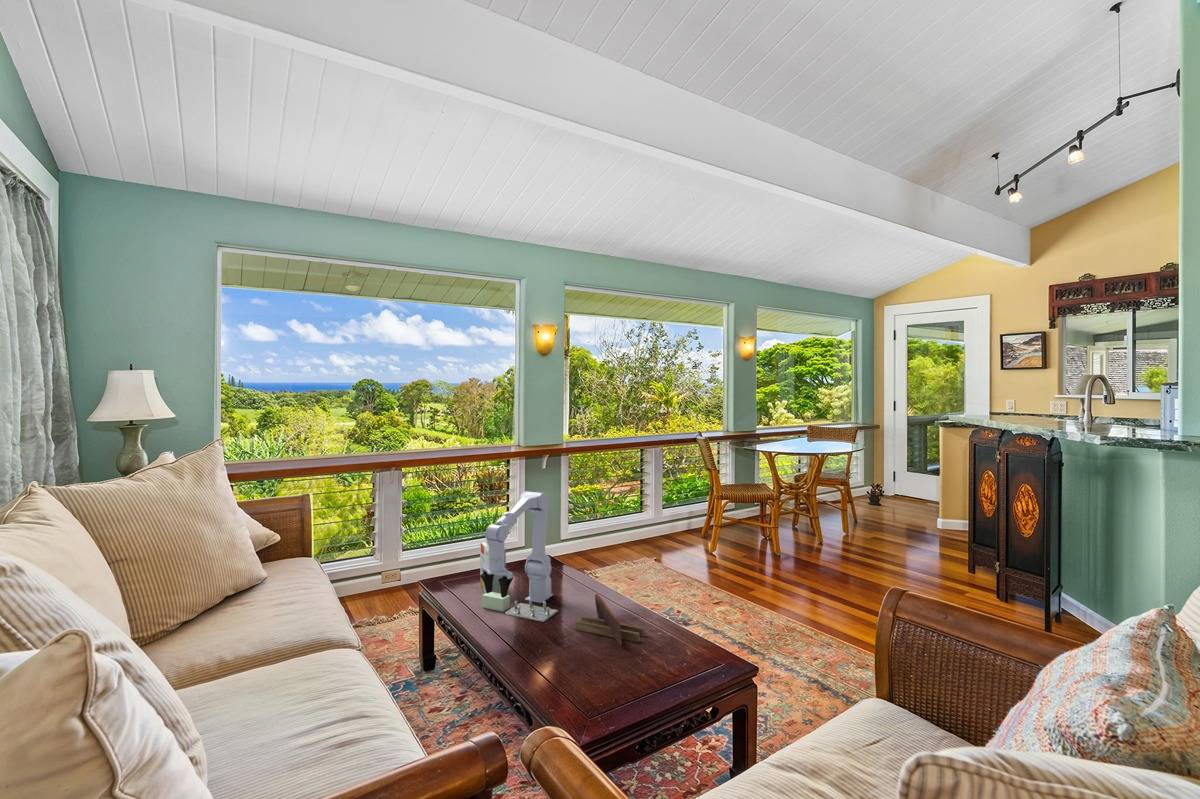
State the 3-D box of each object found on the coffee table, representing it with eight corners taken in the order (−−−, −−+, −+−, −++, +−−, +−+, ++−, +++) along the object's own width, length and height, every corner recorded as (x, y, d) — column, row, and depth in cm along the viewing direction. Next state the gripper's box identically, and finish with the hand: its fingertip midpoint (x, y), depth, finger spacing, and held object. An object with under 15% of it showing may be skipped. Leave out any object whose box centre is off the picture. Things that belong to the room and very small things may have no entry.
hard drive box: (479, 587, 239) (479, 541, 239) (497, 584, 242) (497, 539, 242) (488, 599, 225) (488, 550, 225) (506, 596, 228) (506, 548, 228)
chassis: (505, 614, 208) (505, 605, 208) (520, 605, 217) (520, 596, 217) (543, 622, 201) (543, 612, 201) (557, 612, 210) (557, 603, 210)
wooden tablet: (625, 647, 179) (624, 616, 180) (619, 648, 179) (618, 618, 179) (600, 618, 205) (599, 591, 205) (594, 619, 204) (593, 592, 204)
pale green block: (482, 607, 216) (482, 595, 216) (489, 604, 220) (489, 591, 220) (502, 612, 211) (502, 599, 211) (509, 608, 215) (509, 595, 215)
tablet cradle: (582, 623, 200) (582, 615, 200) (644, 636, 189) (644, 627, 189) (575, 630, 194) (575, 621, 194) (638, 643, 184) (638, 634, 184)
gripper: (474, 556, 202) (474, 593, 202) (502, 563, 194) (503, 602, 194) (488, 552, 208) (488, 588, 208) (516, 558, 200) (516, 596, 200)
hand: (496, 594), depth 201 cm, fingers open, 7 cm apart
